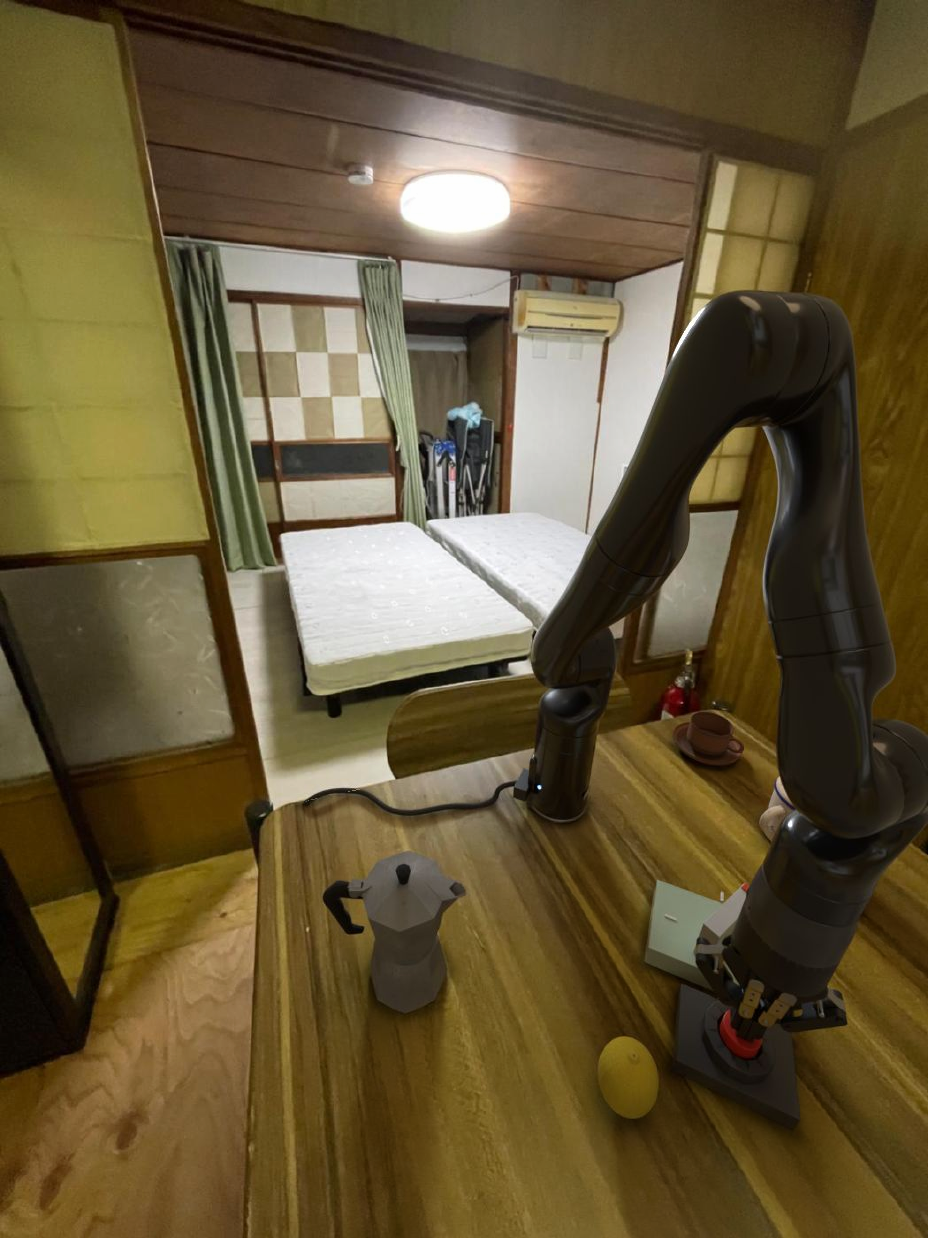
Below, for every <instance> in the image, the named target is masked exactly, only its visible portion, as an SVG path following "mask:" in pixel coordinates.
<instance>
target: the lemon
mask: <svg viewBox="0 0 928 1238" xmlns="http://www.w3.org/2000/svg"><path fill="white" fill-rule="evenodd" d="M598 1060H599V1061H598V1063H597V1064H598V1065H597V1080H598V1081H597V1082H598V1087H599V1089H600V1092H601V1094H602V1096H603V1099H604V1100H605V1101H606V1103H607V1105H608V1107H610V1108H611V1109H612V1110H613V1111H614V1112H615V1113H616V1114H618V1115H619V1116H620V1117H623V1118H626V1119H635V1120H636V1119H639V1118H643V1117H644V1116H645V1115H647V1114H648V1113H650V1112H651V1110H652V1108H653V1107H654V1105H655V1104H656V1101H657V1099H658V1098H657V1097H658V1094H659V1085H660V1084H659V1082H660V1081H659V1079H660V1078H659V1073H658V1068H657V1065H656V1062H655V1060H654V1058H653V1055H652V1054H651V1052H650V1050H649V1049H648V1048H647V1047H646V1046H645V1045H644V1044H643V1043H642V1042H640V1041H639V1040H638V1039H635V1038H633V1037H630V1036H625V1035H624V1036H617V1037H615V1038H613V1039H611V1040H610V1041H609V1042H608V1043H607V1044H606V1045H605V1046H604V1048H603V1050H602V1051H601V1053H600V1055H599V1059H598Z"/></svg>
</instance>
